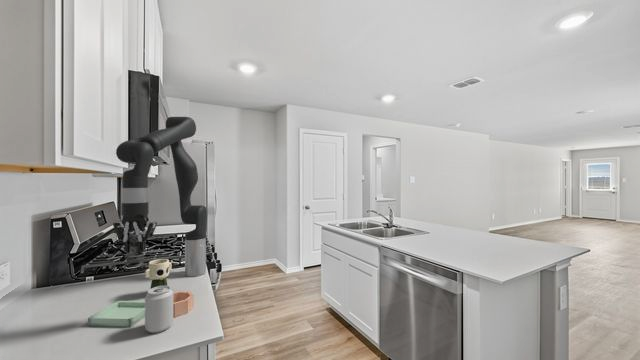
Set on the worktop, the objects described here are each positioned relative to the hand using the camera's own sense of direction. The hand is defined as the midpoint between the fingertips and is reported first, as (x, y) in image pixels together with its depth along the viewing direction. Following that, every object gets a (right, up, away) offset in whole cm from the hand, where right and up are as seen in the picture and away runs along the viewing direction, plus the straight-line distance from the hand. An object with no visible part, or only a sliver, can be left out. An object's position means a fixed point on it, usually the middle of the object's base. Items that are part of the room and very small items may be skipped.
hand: (135, 252), depth 90 cm
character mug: (-2, -22, +17) cm, 28 cm away
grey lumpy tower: (0, -5, 0) cm, 5 cm away
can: (+13, -22, -7) cm, 26 cm away
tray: (-3, -21, -1) cm, 22 cm away
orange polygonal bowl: (+12, -21, +4) cm, 25 cm away
